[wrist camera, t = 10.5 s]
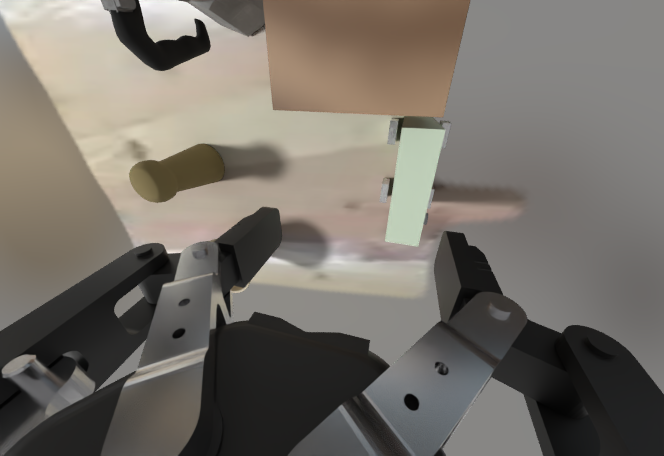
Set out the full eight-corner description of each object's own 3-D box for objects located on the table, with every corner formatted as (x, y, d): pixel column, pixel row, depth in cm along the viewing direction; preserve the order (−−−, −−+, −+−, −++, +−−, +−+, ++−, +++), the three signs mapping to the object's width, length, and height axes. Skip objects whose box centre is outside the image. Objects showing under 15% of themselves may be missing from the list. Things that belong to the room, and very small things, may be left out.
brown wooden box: (331, -13, 23) (251, -124, 11) (453, -23, 20) (512, -180, 9) (330, 103, 28) (273, 109, 16) (427, 106, 25) (442, 117, 14)
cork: (229, 160, 36) (166, 183, 26) (218, 189, 39) (159, 218, 30) (196, 135, 35) (120, 149, 26) (187, 166, 38) (117, 189, 29)
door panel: (404, 116, 26) (401, 127, 17) (440, 117, 26) (457, 130, 16) (392, 198, 31) (384, 241, 22) (421, 201, 31) (427, 248, 21)
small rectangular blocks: (392, 118, 27) (390, 120, 25) (448, 121, 26) (451, 123, 23) (381, 195, 32) (379, 201, 30) (428, 200, 30) (429, 208, 28)
